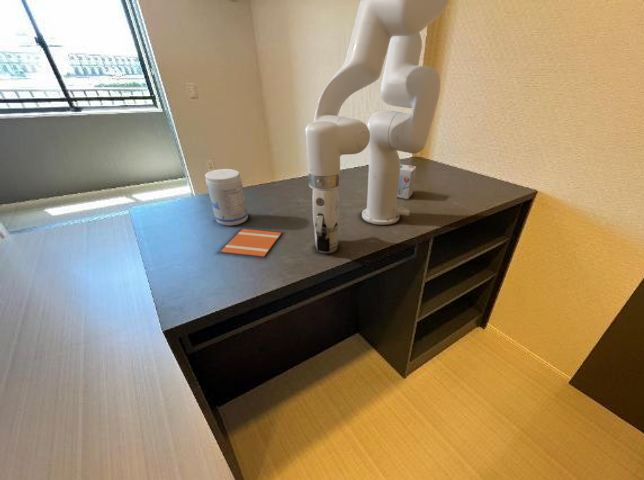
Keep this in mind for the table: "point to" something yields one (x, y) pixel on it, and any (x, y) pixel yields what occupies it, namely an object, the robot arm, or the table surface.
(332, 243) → the camera lens
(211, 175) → the supplement tub
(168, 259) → the table surface
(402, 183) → the light bulb box
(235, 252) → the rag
